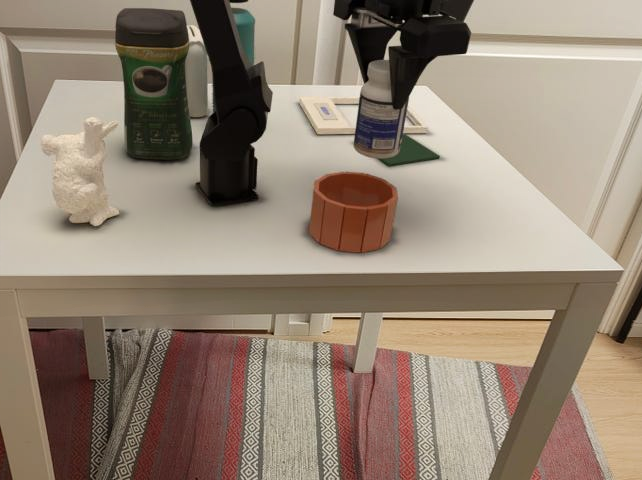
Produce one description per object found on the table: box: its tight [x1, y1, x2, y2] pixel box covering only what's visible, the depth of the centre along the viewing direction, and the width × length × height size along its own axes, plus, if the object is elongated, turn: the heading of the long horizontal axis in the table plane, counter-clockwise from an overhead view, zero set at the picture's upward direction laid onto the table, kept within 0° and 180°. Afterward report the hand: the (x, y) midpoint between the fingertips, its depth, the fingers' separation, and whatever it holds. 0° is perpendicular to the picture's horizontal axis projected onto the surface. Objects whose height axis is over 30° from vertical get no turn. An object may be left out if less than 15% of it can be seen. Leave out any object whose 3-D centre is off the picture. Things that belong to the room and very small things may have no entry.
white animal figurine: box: [40, 116, 120, 227], centre depth 75 cm, size 8×7×12 cm
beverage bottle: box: [211, 0, 256, 113], centre depth 97 cm, size 6×7×20 cm
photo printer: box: [185, 24, 209, 118], centre depth 106 cm, size 10×4×12 cm, turn 13°
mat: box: [377, 134, 441, 167], centre depth 99 cm, size 9×9×1 cm
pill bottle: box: [353, 59, 410, 159], centre depth 77 cm, size 6×6×10 cm
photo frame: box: [298, 96, 429, 135], centre depth 109 cm, size 15×1×18 cm
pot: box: [308, 171, 399, 254], centre depth 77 cm, size 10×10×6 cm
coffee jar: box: [114, 7, 194, 160], centre depth 89 cm, size 10×8×19 cm
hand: (384, 100), depth 77 cm, fingers closed on pill bottle, 6 cm apart
